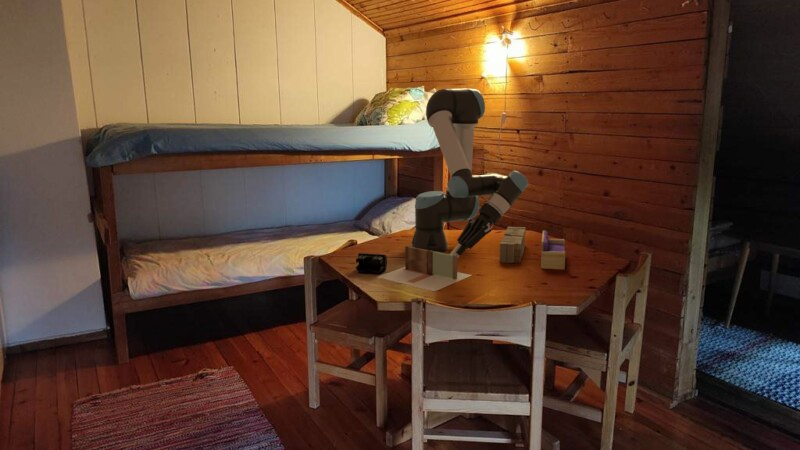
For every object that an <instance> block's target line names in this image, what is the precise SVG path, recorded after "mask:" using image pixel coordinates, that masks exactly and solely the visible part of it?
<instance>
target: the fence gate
mask: <svg viewBox="0 0 800 450" xmlns="http://www.w3.org/2000/svg"><path fill="white" fill-rule="evenodd" d="M457 272H458V259H457V255H450V253H445V252H435V251H434V252H433V274H434V275H439V276H443V277H447V278H452V279H457Z"/></svg>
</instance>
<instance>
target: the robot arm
mask: <svg viewBox="0 0 800 450" xmlns="http://www.w3.org/2000/svg"><path fill="white" fill-rule="evenodd" d="M485 110H486V104H485V99H484V95H483V94H482V93H481V92H480V90H478V89H475V88H441V89H438V90H437V91H435V92H433V94H432V95H431V96H430V98H429V99H428V101H427V104H426V107H425V116H426V121H427V123H428V125H429V127H431V128H432V129H433V131H434V134H435V136H436V139H437V140H436V141H437V142H438V146H439V148H440V151H441V153H442V156H443V158H444V162H445V165H446V167H447V170H448V173H449V175H450V176H449V177H450V178H449V179H448V182H447V183H448V184H447V187H446V188H445V190H446V191H445V193H444V192H443V191H440V190H434V191H433V190H432V191H426V192H425V191H424V192H422V193H419V194H418V195H417V196H416V198H415V204H414V210H415V211H414V214H415V216H414V217H415V219H414V220H415V221H414V222H415V231H414V234H413V237H412V240H411V243H410V247H414V248H419V249H424V250H428V251H429V250H432V251H433V252H434V251H435V252H440V253H443V252H444V251H446V250H448V249H449V247H448V246H449V245H448V244H449V243H448V241H447V237H446V234H445V231H444V229H445V228H444V223H455V222H466V221H468V222H467V224H466V225H465V227H464V229H463V230H462V232H461V233H460V235H459V236H458V237H457V239H456V241H457V243H458V244H457V245H456V246H455V247H454V248H453V250H452V251H450V252H449V254H450V255H457V260H459V257H461V255H462V254H463V253H464V252H465V251H466V250H467V249H470V250H471V249H472V248H473V247H475V246H476V245H477V244H478V243H479V242H480V241H481V240H482V239H483V238H484V237H486V235H488V234H489V233H491V232H492V229H491V226H492V224H493V225H495V224H497V223H498V222H499V220H500V219H501V218H502V216H503V215H504V214H505V213H506V212H508V210H509V209H510V207H511V206H512V205H513V204H514V203H515V202H516V201H517V199H519V197H520V196H521V195H522V194H523V193H524V192H525V189H526V188H527V187H528V186H529V180H528V178H527V177H526V176H525V175H524V174H522V173H521V172H519V171H518V170H512V171H511V172H510V173H509V174H508V175H503V174H499V173H496V172H488V173H485V174H481V175H480V174H477V175H473V172H472V170H473V155H474V153H473V152H474V136H475V135H474V134H475V133H474V131H475V127H477V125H478V124H479V120H480V119H482V118H483V117H484V114H485V112H486V111H485ZM484 196H489V197H488V199H487V200H486V201H485V203H483V204H482V206H481V207H480V200H479V197H484ZM478 213H479V215H478ZM477 215H478V216H477ZM474 218H475V219H474Z"/></svg>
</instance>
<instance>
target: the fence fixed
mask: <svg viewBox="0 0 800 450" xmlns="http://www.w3.org/2000/svg"><path fill="white" fill-rule="evenodd" d="M404 254H405V255H404V261H405V265H404V267H405V269H406V270H412V271H417V272H421V273H425V274H428V275H433V251H432V250H429V251H428V250H424V249H419V248H414V247H411V245H410V246H409V245H407V246H406V245H405V247H404Z"/></svg>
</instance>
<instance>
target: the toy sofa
mask: <svg viewBox="0 0 800 450" xmlns="http://www.w3.org/2000/svg"><path fill="white" fill-rule="evenodd" d="M565 241H566V240H565V239H564V238H549V233H548V231H547V230H542V237H541V241H540V242H541V249H540V250H541V252H540V255H541V256H540V257H541V258H540V269H548V270H549V269H550V270H565V267H566V248H565Z"/></svg>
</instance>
